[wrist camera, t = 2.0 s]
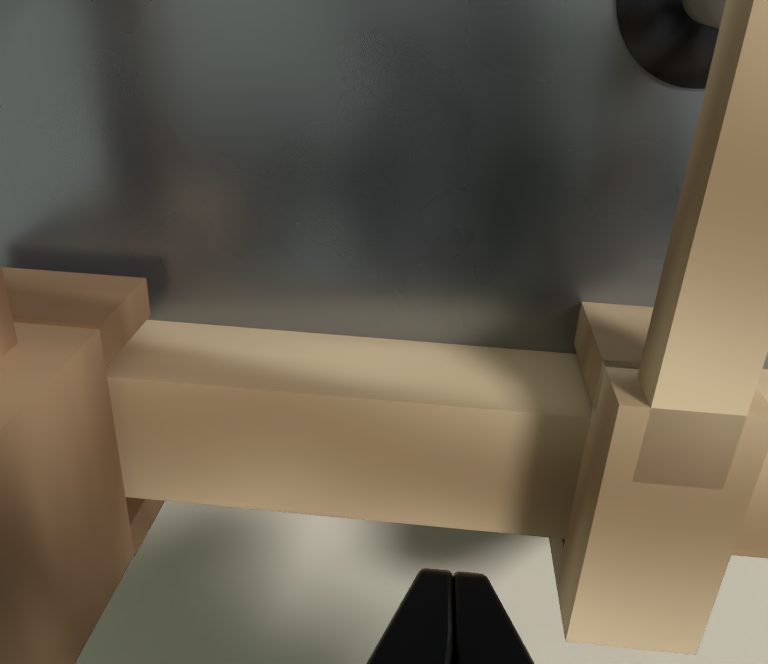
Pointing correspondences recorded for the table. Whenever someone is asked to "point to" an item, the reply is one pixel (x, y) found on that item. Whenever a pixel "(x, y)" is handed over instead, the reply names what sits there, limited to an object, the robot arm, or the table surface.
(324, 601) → the table surface
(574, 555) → the compass bar
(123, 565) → the slider leg
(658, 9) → the steel plate
